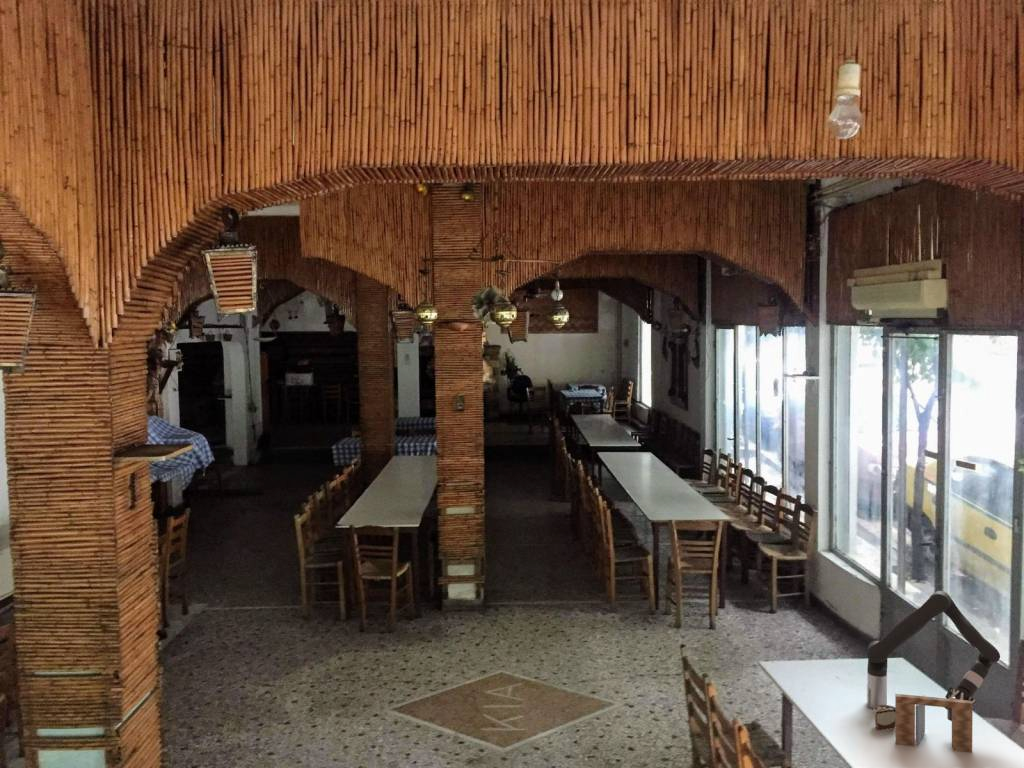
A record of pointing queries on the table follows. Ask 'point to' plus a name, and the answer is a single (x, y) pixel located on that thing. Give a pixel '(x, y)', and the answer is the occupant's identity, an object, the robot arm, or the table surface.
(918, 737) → the cabinet door
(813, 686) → the table surface
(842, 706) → the table surface
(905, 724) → the door frame
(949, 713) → the pepper mill
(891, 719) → the food container
